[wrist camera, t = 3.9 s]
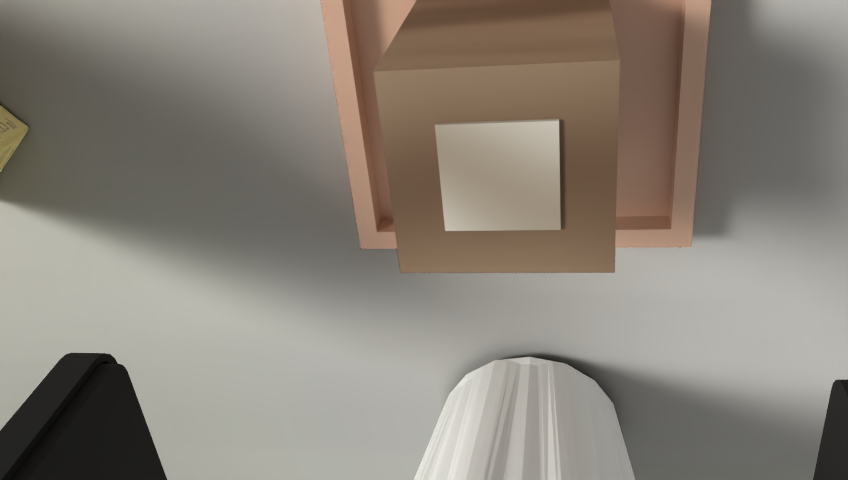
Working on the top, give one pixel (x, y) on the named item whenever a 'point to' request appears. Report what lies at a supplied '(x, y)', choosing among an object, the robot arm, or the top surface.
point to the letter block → (502, 136)
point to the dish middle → (637, 123)
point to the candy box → (9, 135)
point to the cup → (526, 427)
